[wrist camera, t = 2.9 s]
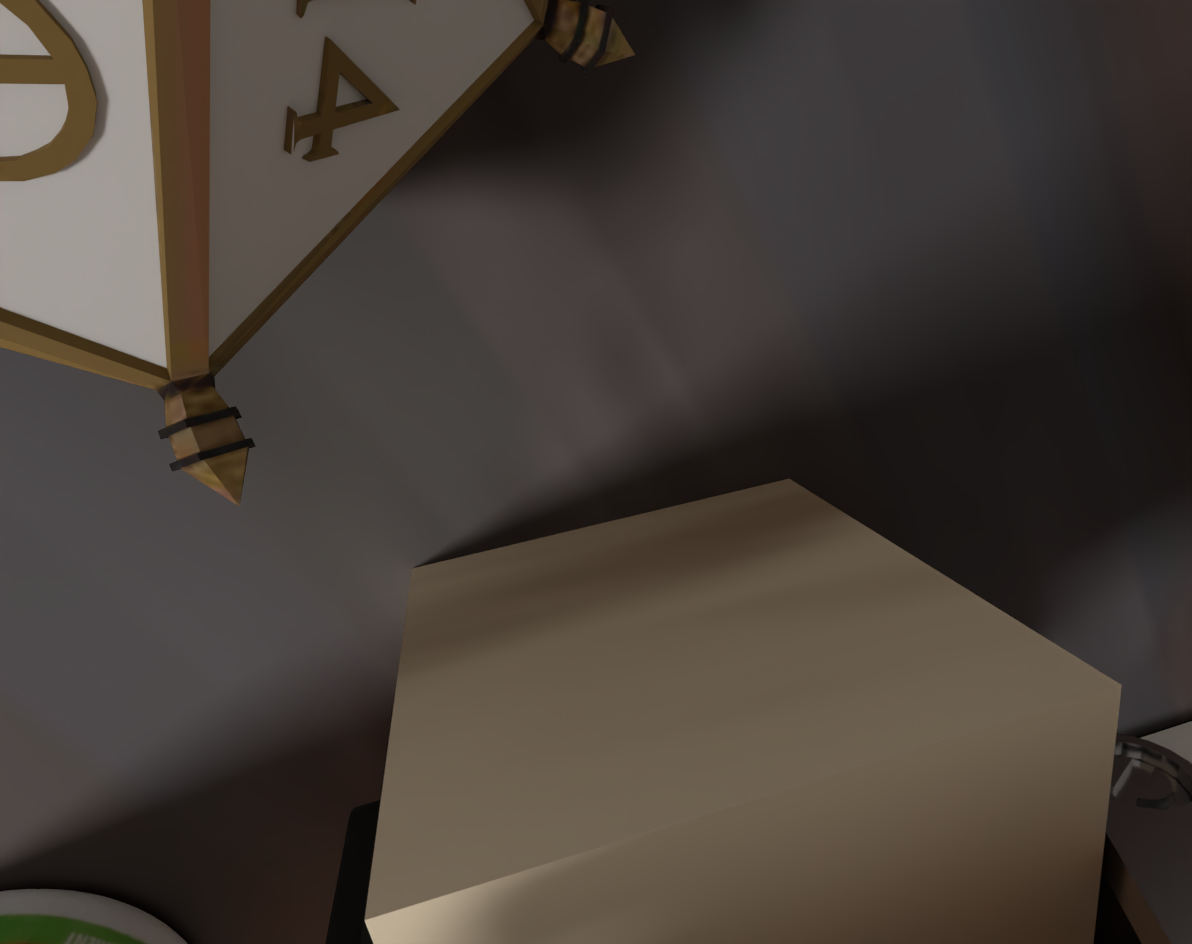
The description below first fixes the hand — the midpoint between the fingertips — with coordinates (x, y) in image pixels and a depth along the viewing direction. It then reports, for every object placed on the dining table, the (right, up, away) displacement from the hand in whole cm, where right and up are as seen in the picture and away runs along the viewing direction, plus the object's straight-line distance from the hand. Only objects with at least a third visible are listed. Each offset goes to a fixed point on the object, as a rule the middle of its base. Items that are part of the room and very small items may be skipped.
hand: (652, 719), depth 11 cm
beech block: (0, 0, +1) cm, 1 cm away
